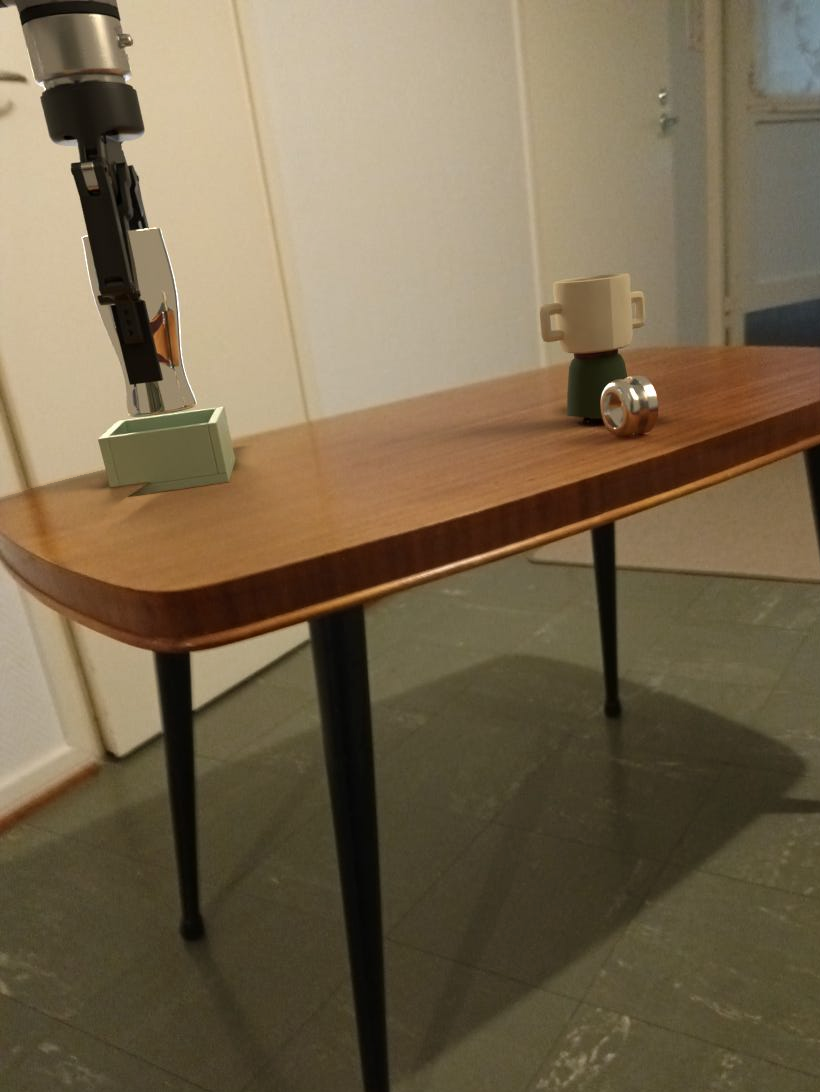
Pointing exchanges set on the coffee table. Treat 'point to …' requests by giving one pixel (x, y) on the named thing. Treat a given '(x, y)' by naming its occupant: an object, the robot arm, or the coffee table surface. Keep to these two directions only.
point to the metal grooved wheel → (629, 406)
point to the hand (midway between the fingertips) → (154, 376)
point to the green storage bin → (169, 451)
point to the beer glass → (164, 324)
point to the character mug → (592, 334)
